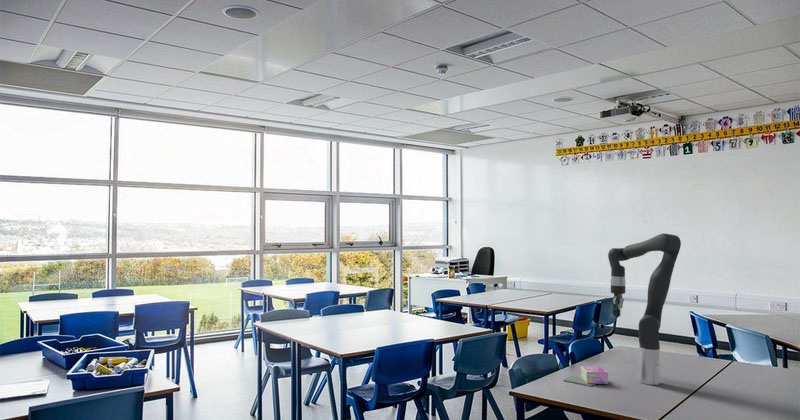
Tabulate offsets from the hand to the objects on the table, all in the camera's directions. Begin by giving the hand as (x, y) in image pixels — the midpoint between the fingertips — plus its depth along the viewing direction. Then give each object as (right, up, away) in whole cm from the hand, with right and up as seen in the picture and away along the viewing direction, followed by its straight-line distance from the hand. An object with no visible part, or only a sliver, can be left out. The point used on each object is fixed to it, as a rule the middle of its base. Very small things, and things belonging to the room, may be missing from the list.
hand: (617, 316), depth 292 cm
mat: (-29, -28, -26) cm, 47 cm away
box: (-21, -25, -19) cm, 38 cm away
